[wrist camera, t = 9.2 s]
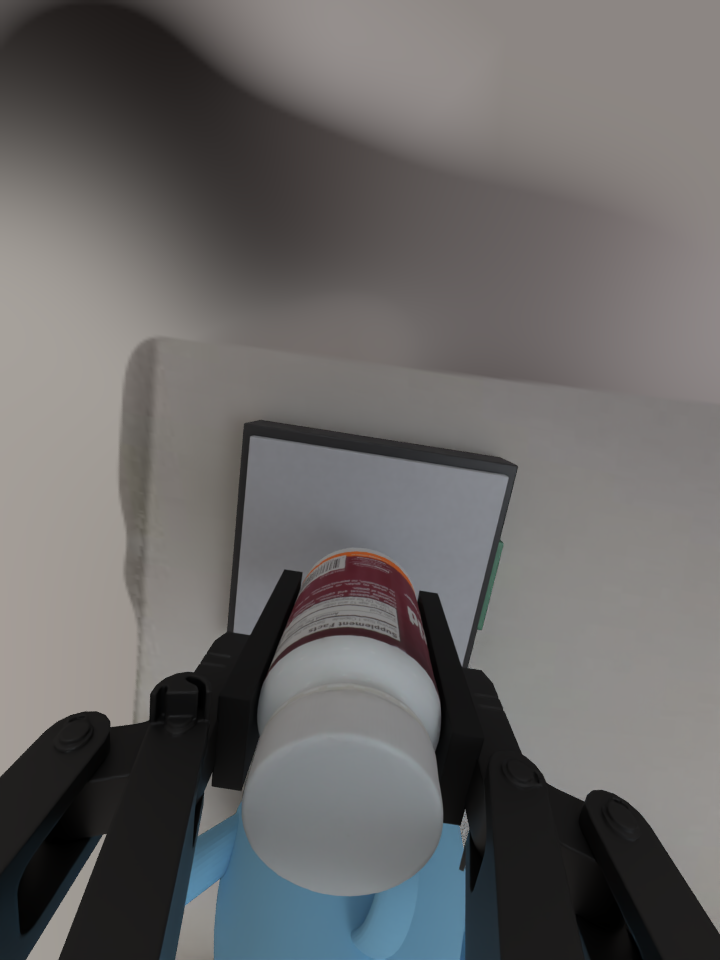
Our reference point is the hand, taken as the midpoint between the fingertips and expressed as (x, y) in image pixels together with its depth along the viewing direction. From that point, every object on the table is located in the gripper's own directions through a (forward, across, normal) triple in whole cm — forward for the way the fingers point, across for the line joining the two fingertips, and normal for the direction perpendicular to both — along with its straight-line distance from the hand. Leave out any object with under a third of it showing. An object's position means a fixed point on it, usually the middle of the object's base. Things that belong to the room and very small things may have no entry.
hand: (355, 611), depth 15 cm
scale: (+6, 0, 0) cm, 6 cm away
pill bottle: (+1, 0, 0) cm, 1 cm away
